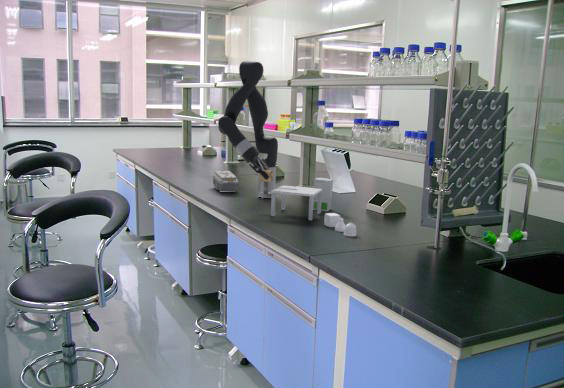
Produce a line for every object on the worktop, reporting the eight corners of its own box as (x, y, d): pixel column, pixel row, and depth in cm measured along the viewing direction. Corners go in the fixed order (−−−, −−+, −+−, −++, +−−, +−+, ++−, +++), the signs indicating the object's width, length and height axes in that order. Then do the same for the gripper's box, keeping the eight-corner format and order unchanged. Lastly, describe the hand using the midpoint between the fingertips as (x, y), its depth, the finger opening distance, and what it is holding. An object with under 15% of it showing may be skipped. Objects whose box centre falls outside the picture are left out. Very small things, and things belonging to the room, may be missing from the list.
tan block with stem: (262, 193, 246) (262, 169, 244) (273, 194, 244) (274, 170, 242) (257, 195, 241) (258, 170, 239) (269, 196, 239) (270, 171, 237)
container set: (323, 225, 221) (324, 213, 220) (334, 224, 223) (334, 212, 222) (347, 237, 203) (348, 224, 202) (358, 236, 205) (359, 223, 204)
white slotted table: (282, 209, 250) (282, 185, 248) (321, 213, 243) (322, 189, 241) (270, 215, 235) (271, 190, 233) (311, 220, 228) (313, 194, 226)
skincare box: (312, 210, 250) (313, 179, 248) (315, 207, 257) (316, 177, 254) (328, 211, 248) (330, 180, 245) (331, 209, 254) (333, 178, 251)
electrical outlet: (228, 184, 312) (229, 168, 310) (241, 196, 286) (241, 179, 284) (210, 185, 308) (210, 169, 306) (220, 197, 282) (221, 179, 280)
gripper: (246, 146, 234) (269, 174, 232) (258, 144, 247) (280, 170, 246) (235, 157, 237) (258, 185, 235) (248, 154, 250) (269, 180, 248)
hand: (269, 177), depth 241 cm, fingers closed on tan block with stem, 5 cm apart
